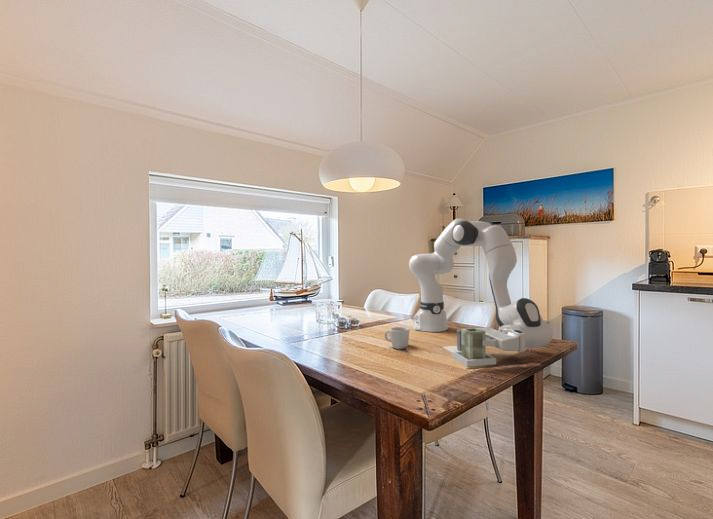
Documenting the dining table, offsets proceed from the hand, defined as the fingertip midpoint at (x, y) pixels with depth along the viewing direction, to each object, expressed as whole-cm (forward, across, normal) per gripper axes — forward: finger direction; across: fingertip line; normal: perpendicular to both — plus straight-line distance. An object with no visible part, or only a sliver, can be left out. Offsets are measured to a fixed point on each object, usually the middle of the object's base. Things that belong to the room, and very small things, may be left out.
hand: (474, 339), depth 127 cm
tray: (+1, 0, +9) cm, 9 cm away
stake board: (-1, -15, +9) cm, 17 cm away
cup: (+21, -27, +9) cm, 35 cm away
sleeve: (+1, 0, +8) cm, 8 cm away
